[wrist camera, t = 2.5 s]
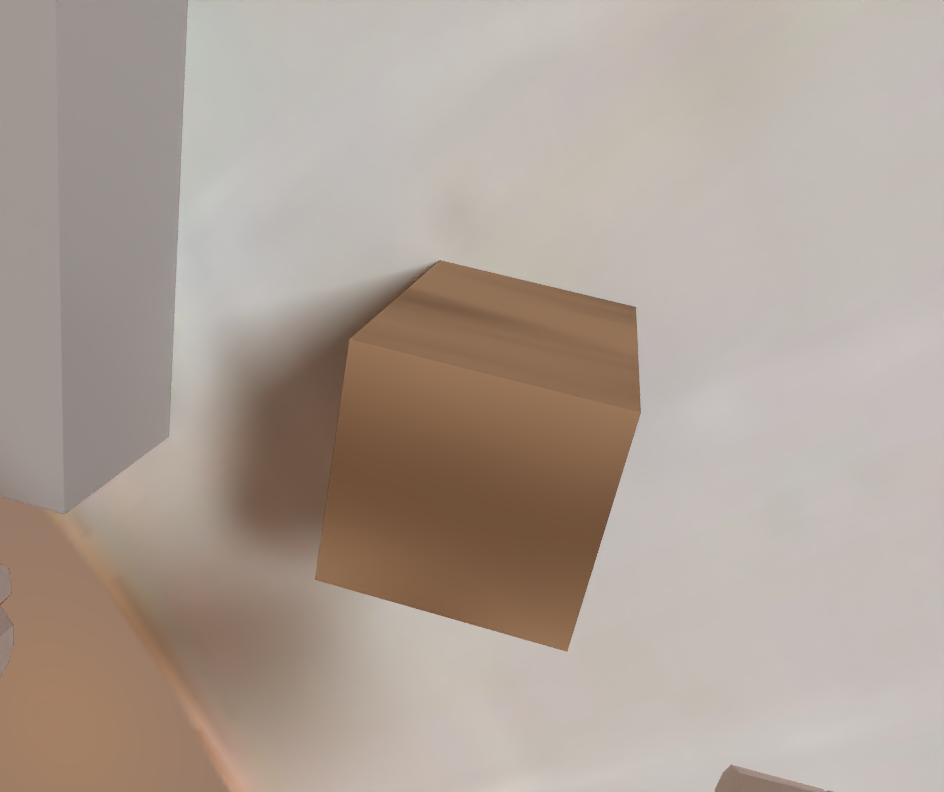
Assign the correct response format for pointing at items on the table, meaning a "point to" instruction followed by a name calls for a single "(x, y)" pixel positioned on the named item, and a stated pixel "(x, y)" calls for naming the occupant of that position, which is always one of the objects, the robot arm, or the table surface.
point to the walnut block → (481, 450)
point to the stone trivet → (86, 239)
